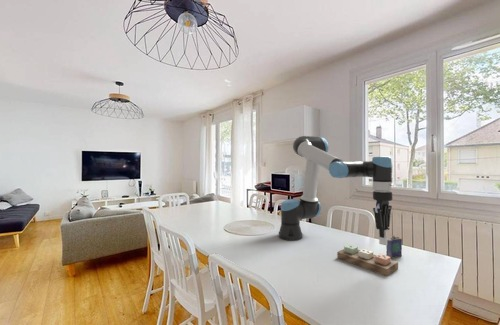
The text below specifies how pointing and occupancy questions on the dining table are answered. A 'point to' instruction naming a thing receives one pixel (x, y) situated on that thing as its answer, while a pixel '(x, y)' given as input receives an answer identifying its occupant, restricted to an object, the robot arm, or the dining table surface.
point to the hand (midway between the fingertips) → (383, 244)
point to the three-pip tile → (383, 259)
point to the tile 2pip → (366, 254)
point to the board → (368, 263)
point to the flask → (394, 247)
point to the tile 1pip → (350, 249)
